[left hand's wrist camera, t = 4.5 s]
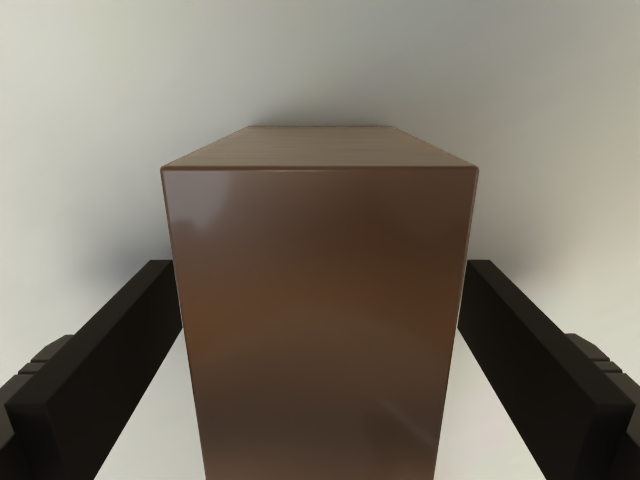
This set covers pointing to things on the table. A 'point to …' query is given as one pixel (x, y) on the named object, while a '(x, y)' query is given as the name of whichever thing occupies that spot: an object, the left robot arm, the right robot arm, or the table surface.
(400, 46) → the table surface
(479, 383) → the table surface
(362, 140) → the beam
